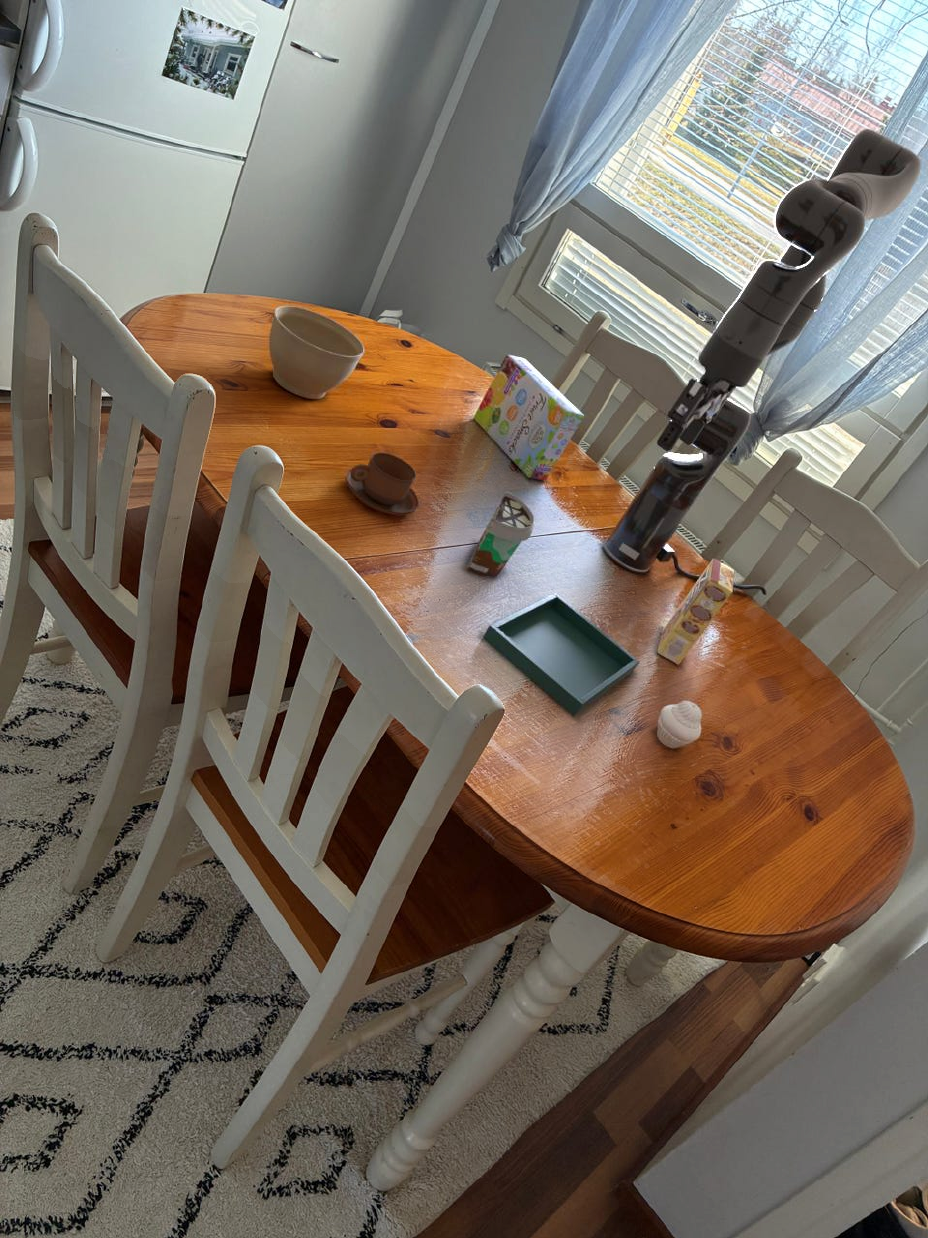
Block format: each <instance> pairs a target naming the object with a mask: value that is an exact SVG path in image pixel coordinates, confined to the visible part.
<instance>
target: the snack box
mask: <svg viewBox="0 0 928 1238" xmlns="http://www.w3.org/2000/svg"><path fill="white" fill-rule="evenodd" d="M490 383H491V384H489V387H488V389H487V391H486V392H485V395H484V396H483V398H482V400H481V402H480V404H479V406H478V408H477V409H476V412H475V413H474V415H473V420H474V421H475V422H476V424H478V425H479V426H480V427H481V428H482V430H483V431H485V433H486V434H487V435H488V436H489V437H490V438H491V439H492V440H493V441H494V442H495V443H496V444H497V446H498V447H499V448H500V449H501V450H502V451H503V452H504V453H505V454H506V455H507V456H508V458H509V459H510V460H511V461H512V462H513V463H514V464H515V465H516V466H517V467H518V468H519V469H520V471H521V472H522V473H523V474H524V475H525V476H526V477H527V478H528V479H534V480H539V481H547V479H548V478H549V476H550V474H551V473H552V471H553V469H554V468H555V466H556V465H557V462H558V461H559V459H560V457H561V456H562V454H563V453H564V451H565V449H566V448H567V446H568V444H569V443H570V441H571V439H572V438H573V436H574V434H575V433H576V431H577V429H578V428H579V426H580V424H581V423H582V421H583V420H584V418H585V415H584V414H583V412H582V411H580V410H579V408H577V407H576V406H575V404H573V403H572V402H571V401H570V400H569V399H567V397H566V396H565V395H563V393H561V391H559V390H558V389H557V388H556V387H555V386H554V385H553V384H552V383H551V382H550V381H549V380H548V379H547V378H546V377H544V376H543V374H541V372H540V371H538V370H537V369H536V368H535V367H534V366H533V365H532V363H530V362H529V361H528V360H527V359H526V358H524V357H520V356H516V355H513V354H505V357H504V359H503V361H502V362H501V364H500V366H499V368H498V370H497V371H496V374H495V376H494V378H493V379H492V381H491V382H490Z"/></svg>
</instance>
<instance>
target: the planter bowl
mask: <svg viewBox="0 0 928 1238" xmlns="http://www.w3.org/2000/svg"><path fill="white" fill-rule="evenodd" d="M272 316H273V318H272V323H271V327H270V331H269V337H268V338H269V340H268V343H269V344H268V345H269V346H268V347H269V355H270V361H271V364H272V367H273V370H272V377H273V379H274V380H275V382H276V383H277V384H278V385H279V386H281V387H282V388H283V389H285V390H287V391H288V392H289V393H292V394H294V395H296V396H299V397H301V398H305V399H308V400H309V399H311V400H320V399H323V398H324V397H325V395H326V393H327V392H329V391H332V390H334V389H335V388H337V387H339V386H340V385H341V384H342V383H343V382H344V381H346V380H347V379H348V378H349V377H350V376H351V374H352V373H353V371H354V370H355V368H356V367H357V365H358V364H359V363H358V362H359V360H361V358H362V357H363V356H364V353H365V347H364V344H363V343H362V341H361V340H360V339H359V338H358V336H356V334H354V333H353V332H352V331H350V330H349V328H347V327H345V326H344V325H343V324H341V323H340V322H337V321H335V320H334V319H332V318H330V317H328V316H326V315H323V314H321V313H319V312H316V311H313V310H311V309H308V308H305V307H301V306H295V305H280V306H278V307H276V309H275V310H274V312H273V315H272Z"/></svg>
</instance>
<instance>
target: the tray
mask: <svg viewBox="0 0 928 1238" xmlns="http://www.w3.org/2000/svg"><path fill="white" fill-rule="evenodd" d="M486 629H487V630H486V631H485V633H484V635H483V636H482V639H483V640H484V641H486V642H487V643H488V644H489V645H490V646H492V648H494V649H495V650H496V651H497V652H498V653H500V654H501V655H502V656H503V657H504V658H505V659H507V660H508V661H509V662H510V663H511V664H512V665H514V667H516V668H517V669H518V670H519V671H520V672H522V673H523V674H524V675H525V676H527V678H529V680H531V681H532V682H533V683H534V684H535V685H537V686H538V687H539V688H540V689H541V690H543V691H544V692H545V693H546V694H547V695H548V696H550V697H551V698H552V699H553V700H554V701H555V702H556V703H557V704H559V705H560V706H561V707H562V708H563V709H565V710H566V711H567V712H568V713H570V715H572V717H575V716H577V715H578V714H579V713H581V712H582V711H583V710H584V709H587V707H588V706H590V705H591V704H592V703H594V702H596V701H597V700H598V699H599V698H601V697H602V696H603V695H605V694H606V693H607V692H608V691H610V690H611V689H612V688H614V687H616V686H617V685H618V684H619V683H620V682H622V681H623V680H624V679H625V678H627V677H628V676H629V675H631V674H632V673H633V672H634V670H635V669H636V668H637V667H638V665H639V664H640V662H641V661H640V660H639V659H637V657H635V656H633V655H632V654H631V652H629V651H628V650H626V649H625V648H624V647H623V646H621V644H619V643H618V642H617V641H615V640H614V639H613V638H612V637H610V636H609V635H608V634H607V633H605V632H604V631H603V630H602V629H601V628H599V627H598V626H597V625H596V624H595V623H593V621H591V620H589V619H588V617H586V616H585V615H584V614H582V613H581V612H580V611H578V610H577V608H575V607H574V606H572V605H571V604H570V603H569V602H568V601H566V600H565V599H564V598H563V597H561V595H559V594H558V593H557V592H553V593H552V594H550V595H548V596H546V597H544V598H543V599H540V600H537V601H536V602H534V603H532V604H530V605H528V606H526V607H524V608H521V609H520V610H518V611H516V612H514V613H512V614H510V615H508V616H506V617H503V618H502V619H500V620H498V621H496V622H494V623H492V624H490V625H489V626H488V628H486Z"/></svg>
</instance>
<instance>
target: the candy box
mask: <svg viewBox="0 0 928 1238" xmlns="http://www.w3.org/2000/svg"><path fill="white" fill-rule="evenodd" d="M699 576H700V578H699V579H696V580H697V581H696V582H695V583H694V585H693V586H692V587H691V588H690V590H689V591H688V593H687V594H686V596H685V597H684V598H683V600H682V602H681V603H680V604H679V606H678V607H677V609H676V610H675V611H674V613H673V615H672V616H671V617H670V619H669V620H668V621H667V623H666V625H665V626H664V627H663V629H662V631H661V636H660V640H659V644H658V649H657V654H658V655H660V656H662V657H663V658H665V659H666V660H669V661H671V662H672V663H674V664H676V665H677V666H678V665H680V664H681V663H682V661H683V660H684V659H685V657H686V656H687V654H689V652H690V650H692V648H693V646H694V645H695V644H696V642H697V641H698V640H699V638H700V637H701V636H702V635H703V633H704V631H706V629H707V628H708V627H709V625H710V624H711V622H712V621H713V620H714V618H715V617H716V616H717V614H718V613H719V611H720V610H721V609H722V608H723V606H724V605H725V603H726V602H727V601H728V600H729V598H730V597H731V596H732V594H733V592H734V588H733V584H735V570H734V569H733V568H731V567H730V566H728V565H727V564H725V563H723V562H721V561H720V560H718V559H716V558H712V559H711V561H710V562H709V564H708V565H707V566H706V568H705V569H704V571H703V572H702V574H701V575H699Z"/></svg>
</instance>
